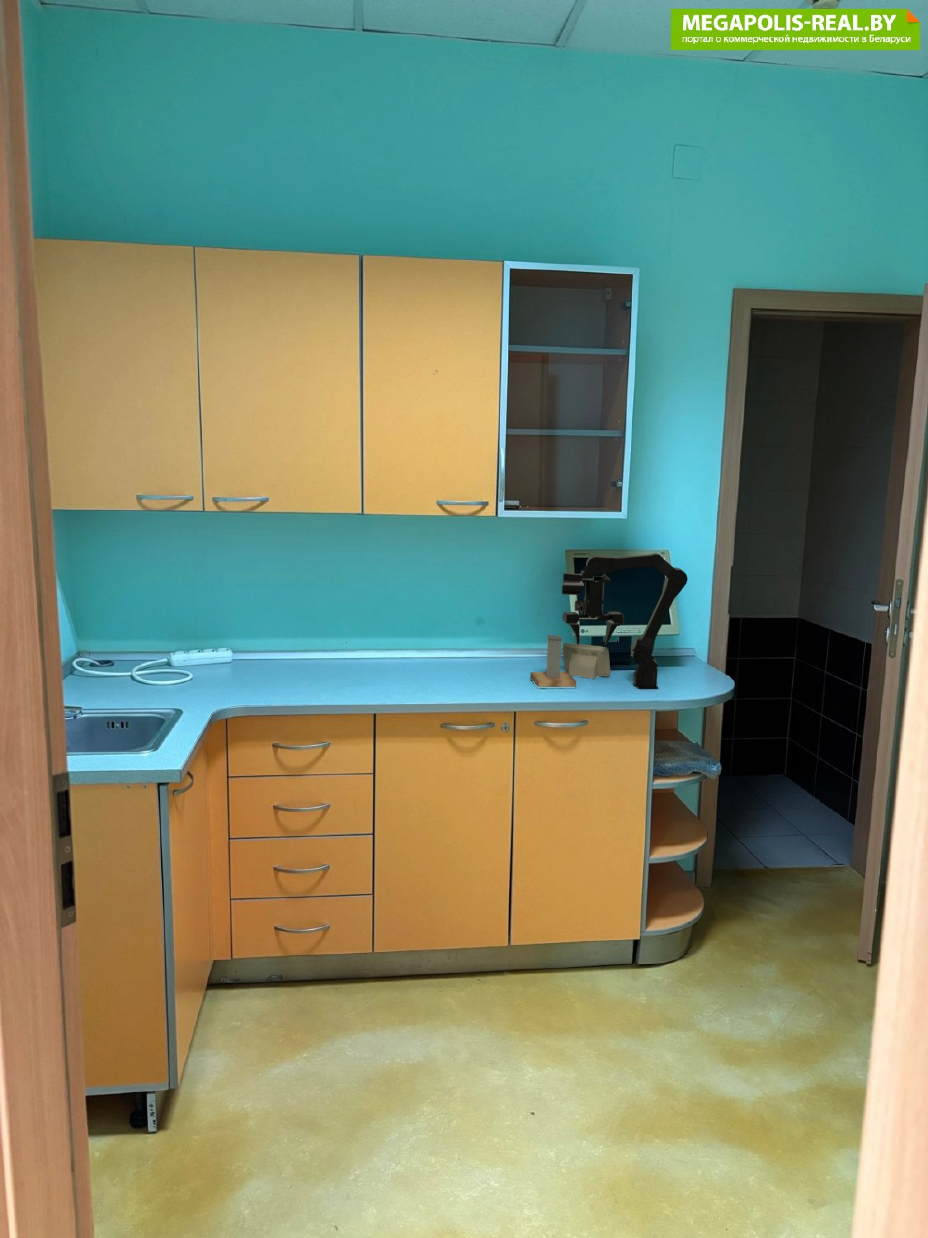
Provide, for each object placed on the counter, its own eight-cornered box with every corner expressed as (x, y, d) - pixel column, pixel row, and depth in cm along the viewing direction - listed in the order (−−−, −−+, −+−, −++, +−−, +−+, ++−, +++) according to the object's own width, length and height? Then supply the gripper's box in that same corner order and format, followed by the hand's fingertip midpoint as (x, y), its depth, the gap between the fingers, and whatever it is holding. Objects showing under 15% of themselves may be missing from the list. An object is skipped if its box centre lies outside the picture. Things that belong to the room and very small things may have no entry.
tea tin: (559, 674, 299) (560, 635, 297) (560, 678, 294) (561, 638, 292) (545, 674, 299) (547, 635, 297) (546, 678, 294) (548, 638, 292)
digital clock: (613, 677, 308) (614, 645, 306) (598, 682, 301) (600, 649, 299) (571, 669, 318) (572, 638, 316) (556, 673, 311) (557, 642, 309)
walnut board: (566, 679, 304) (566, 671, 303) (575, 688, 292) (576, 680, 292) (530, 679, 302) (530, 672, 302) (538, 689, 290) (538, 681, 290)
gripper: (615, 591, 302) (612, 639, 305) (559, 591, 299) (557, 639, 302) (626, 597, 291) (623, 646, 294) (567, 597, 288) (565, 646, 291)
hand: (591, 644), depth 295 cm, fingers open, 9 cm apart
